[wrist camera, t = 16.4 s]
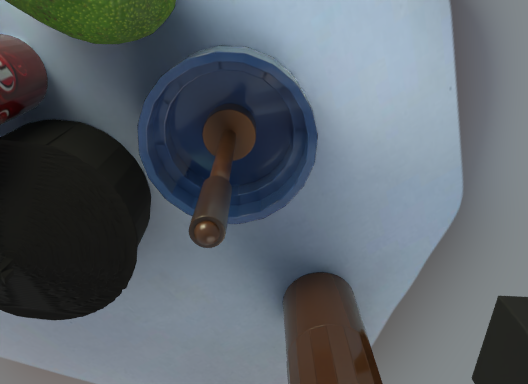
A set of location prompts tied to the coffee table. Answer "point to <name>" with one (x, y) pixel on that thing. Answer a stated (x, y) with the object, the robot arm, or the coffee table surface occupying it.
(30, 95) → the soda can
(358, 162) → the coffee table surface
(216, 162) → the wooden pestle
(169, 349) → the coffee table surface
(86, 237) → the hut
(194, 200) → the bowl
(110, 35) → the fruit
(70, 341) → the coffee table surface
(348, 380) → the crock
